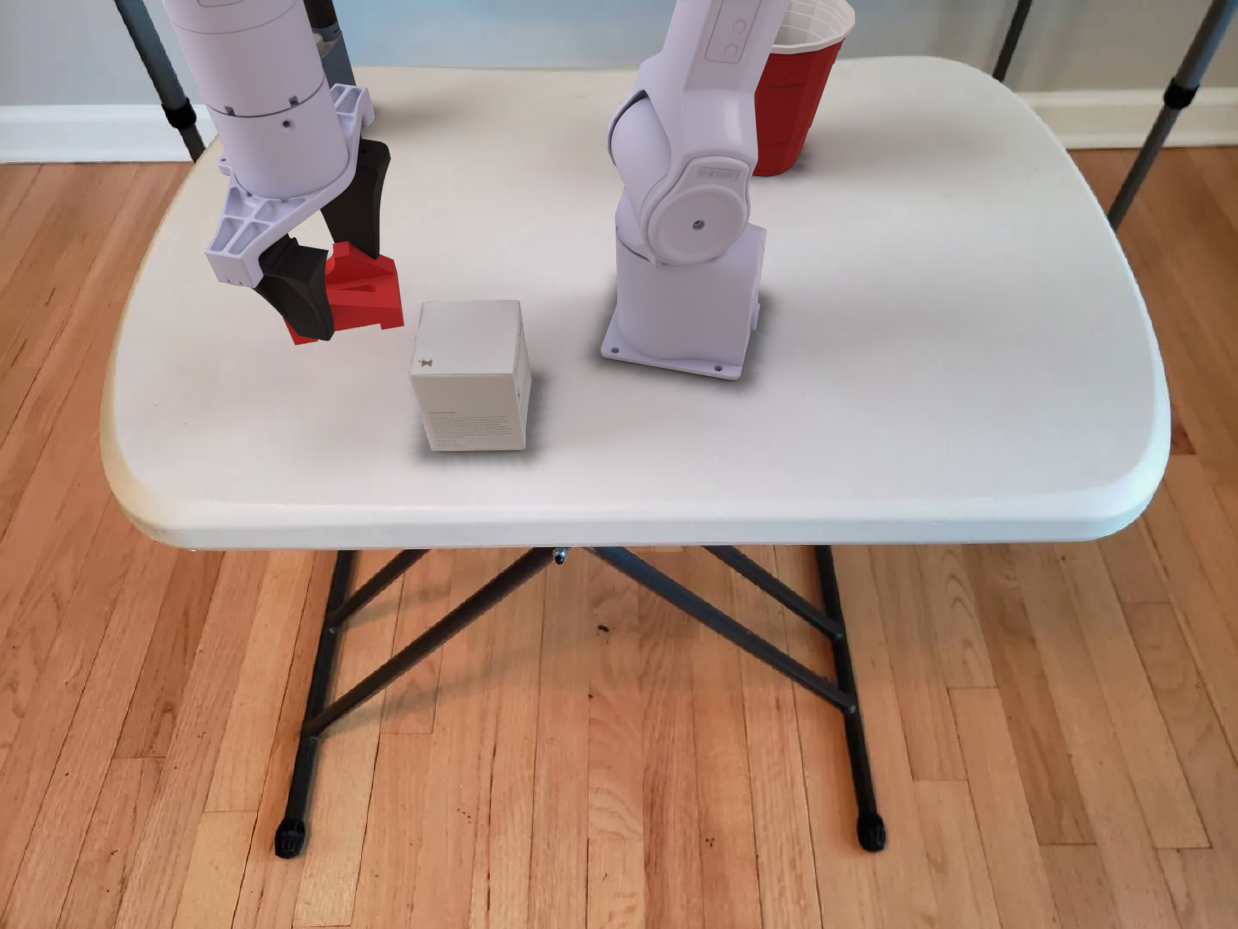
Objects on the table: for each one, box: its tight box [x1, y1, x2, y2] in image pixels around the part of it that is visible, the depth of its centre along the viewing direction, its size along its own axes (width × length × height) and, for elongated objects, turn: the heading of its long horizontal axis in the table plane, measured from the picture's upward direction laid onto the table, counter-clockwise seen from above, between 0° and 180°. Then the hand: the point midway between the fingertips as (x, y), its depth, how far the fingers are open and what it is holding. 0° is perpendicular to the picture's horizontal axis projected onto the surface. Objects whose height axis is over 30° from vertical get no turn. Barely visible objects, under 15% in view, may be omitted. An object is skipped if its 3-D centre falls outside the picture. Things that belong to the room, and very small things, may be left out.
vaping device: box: [303, 0, 357, 89], centre depth 73 cm, size 3×5×12 cm, turn 167°
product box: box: [408, 299, 533, 452], centre depth 56 cm, size 6×6×7 cm
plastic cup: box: [752, 0, 856, 177], centre depth 70 cm, size 11×11×12 cm
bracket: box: [282, 241, 405, 346], centre depth 54 cm, size 6×5×3 cm
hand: (340, 295), depth 54 cm, fingers closed on bracket, 6 cm apart
